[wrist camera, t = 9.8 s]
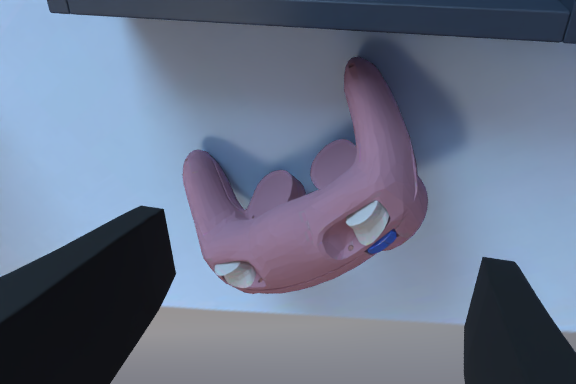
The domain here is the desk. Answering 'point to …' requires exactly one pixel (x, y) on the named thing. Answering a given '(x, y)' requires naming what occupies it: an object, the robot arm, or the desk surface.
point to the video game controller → (315, 201)
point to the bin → (360, 15)
